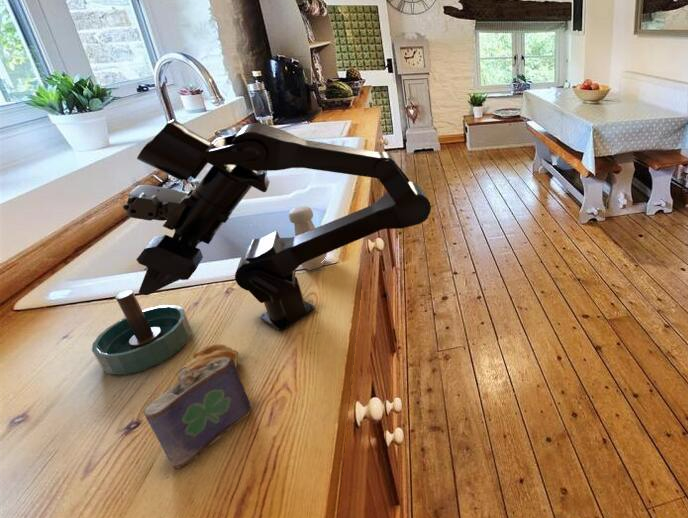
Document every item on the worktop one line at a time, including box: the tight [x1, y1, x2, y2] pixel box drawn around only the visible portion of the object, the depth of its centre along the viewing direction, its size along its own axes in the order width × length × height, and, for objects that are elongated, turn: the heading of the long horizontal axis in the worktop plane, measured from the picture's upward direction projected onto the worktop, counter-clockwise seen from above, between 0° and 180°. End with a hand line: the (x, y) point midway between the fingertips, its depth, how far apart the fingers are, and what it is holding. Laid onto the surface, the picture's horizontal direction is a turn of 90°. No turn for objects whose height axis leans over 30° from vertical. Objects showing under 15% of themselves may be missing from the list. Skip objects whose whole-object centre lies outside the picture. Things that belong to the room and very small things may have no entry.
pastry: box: [183, 343, 239, 371], centre depth 57 cm, size 9×7×4 cm
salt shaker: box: [288, 205, 328, 271], centre depth 83 cm, size 6×6×13 cm
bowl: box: [91, 304, 193, 375], centre depth 64 cm, size 11×11×4 cm
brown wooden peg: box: [115, 289, 163, 350], centre depth 63 cm, size 4×4×10 cm
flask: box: [143, 357, 253, 469], centre depth 49 cm, size 9×3×11 cm, turn 151°
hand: (155, 275), depth 62 cm, fingers open, 9 cm apart
